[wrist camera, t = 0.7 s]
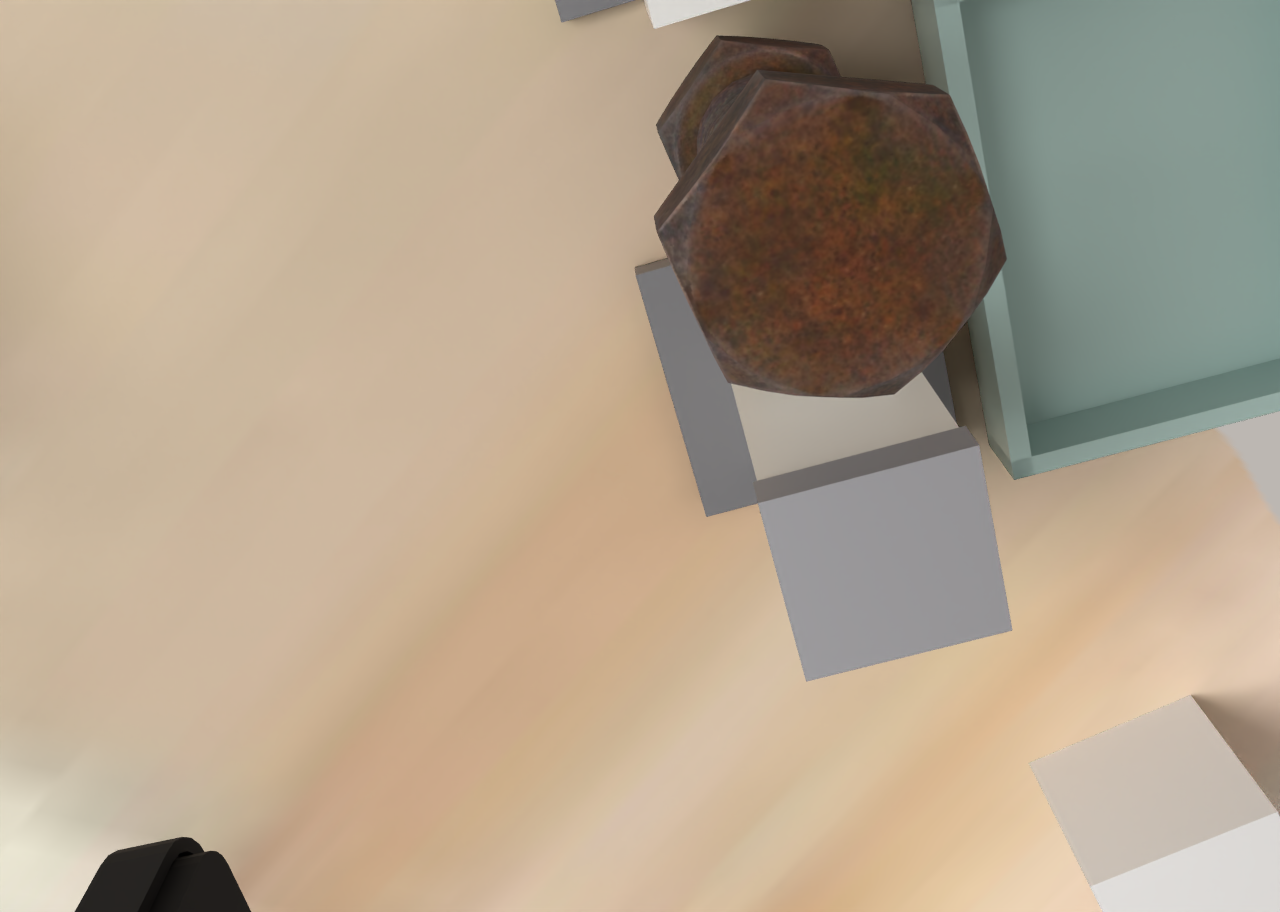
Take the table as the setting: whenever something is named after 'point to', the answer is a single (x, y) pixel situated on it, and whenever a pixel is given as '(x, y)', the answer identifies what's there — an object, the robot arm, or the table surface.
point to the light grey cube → (1165, 816)
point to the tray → (1119, 215)
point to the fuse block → (836, 483)
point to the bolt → (822, 219)
